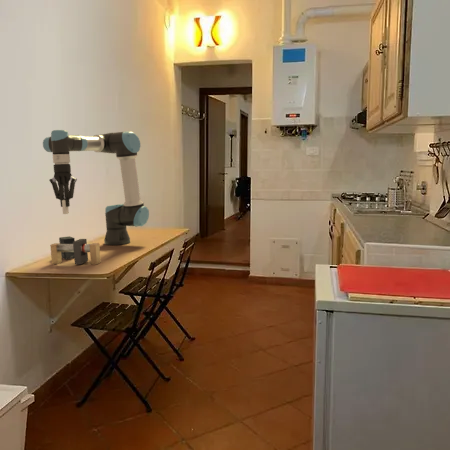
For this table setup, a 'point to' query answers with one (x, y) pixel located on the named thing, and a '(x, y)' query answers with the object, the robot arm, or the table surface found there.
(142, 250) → the table surface
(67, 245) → the pipe
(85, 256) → the collar
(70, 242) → the box
